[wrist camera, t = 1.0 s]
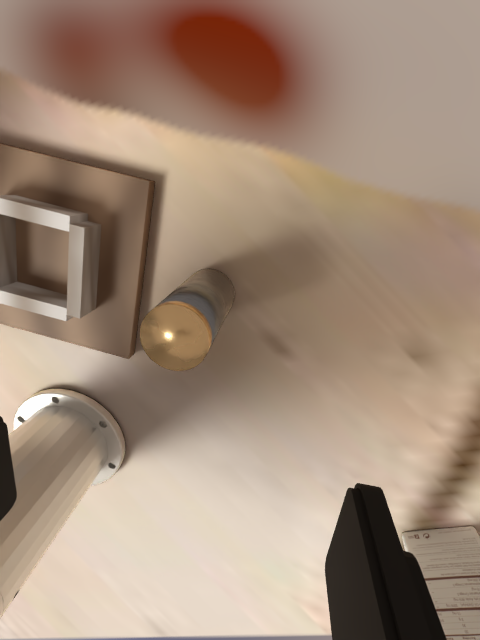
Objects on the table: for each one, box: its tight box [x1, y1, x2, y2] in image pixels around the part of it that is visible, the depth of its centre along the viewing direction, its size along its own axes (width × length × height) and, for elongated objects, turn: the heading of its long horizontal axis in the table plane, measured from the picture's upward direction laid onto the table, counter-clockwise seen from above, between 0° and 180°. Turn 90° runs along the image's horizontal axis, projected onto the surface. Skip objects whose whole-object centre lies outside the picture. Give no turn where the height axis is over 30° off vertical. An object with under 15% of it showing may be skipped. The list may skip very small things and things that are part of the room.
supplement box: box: [402, 526, 480, 640], centre depth 31 cm, size 7×7×13 cm
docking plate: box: [0, 143, 155, 359], centre depth 29 cm, size 16×16×4 cm
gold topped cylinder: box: [140, 269, 235, 371], centre depth 25 cm, size 4×4×10 cm
